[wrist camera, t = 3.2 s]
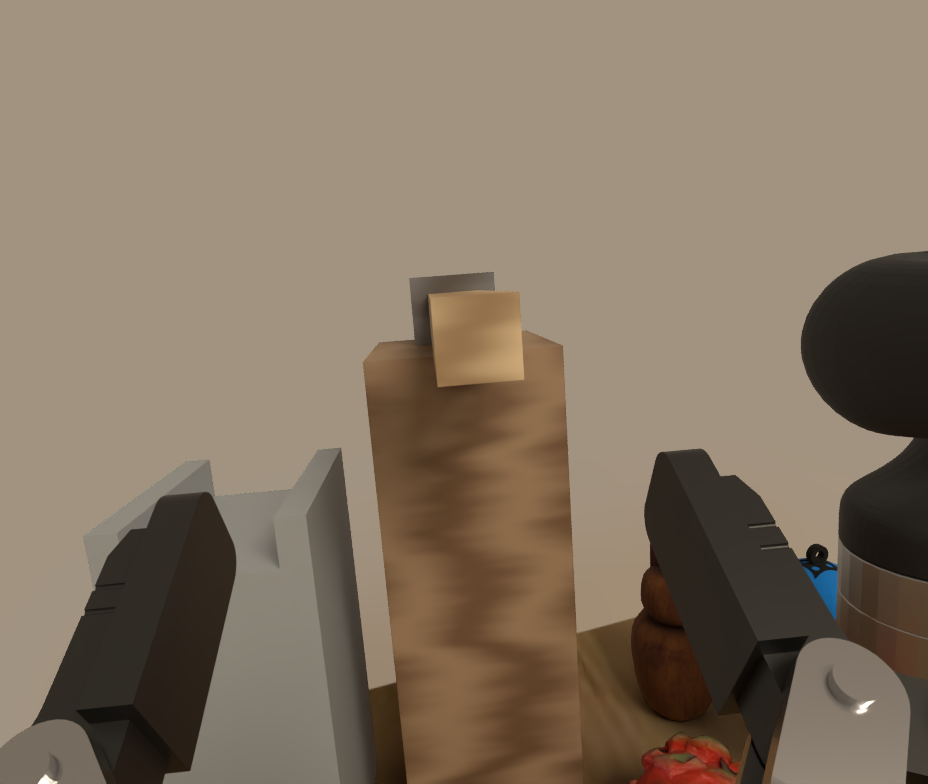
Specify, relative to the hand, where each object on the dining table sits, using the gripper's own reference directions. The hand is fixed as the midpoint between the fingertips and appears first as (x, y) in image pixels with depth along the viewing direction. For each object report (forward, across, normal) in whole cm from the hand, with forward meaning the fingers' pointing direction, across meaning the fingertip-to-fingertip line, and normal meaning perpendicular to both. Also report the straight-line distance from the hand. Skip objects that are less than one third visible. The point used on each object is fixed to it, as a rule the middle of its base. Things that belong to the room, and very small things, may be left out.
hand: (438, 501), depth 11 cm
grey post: (+5, +11, +37) cm, 39 cm away
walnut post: (+7, -2, +38) cm, 39 cm away
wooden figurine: (+12, -17, +41) cm, 46 cm away
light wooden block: (+18, -2, +9) cm, 20 cm away
